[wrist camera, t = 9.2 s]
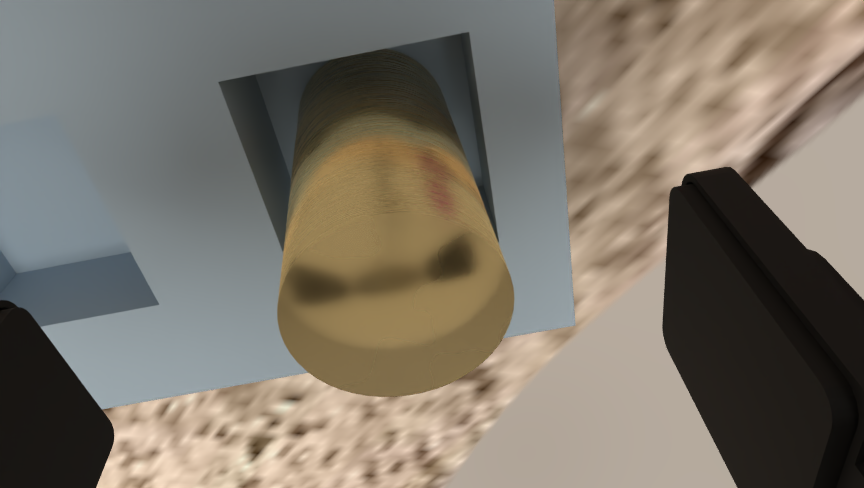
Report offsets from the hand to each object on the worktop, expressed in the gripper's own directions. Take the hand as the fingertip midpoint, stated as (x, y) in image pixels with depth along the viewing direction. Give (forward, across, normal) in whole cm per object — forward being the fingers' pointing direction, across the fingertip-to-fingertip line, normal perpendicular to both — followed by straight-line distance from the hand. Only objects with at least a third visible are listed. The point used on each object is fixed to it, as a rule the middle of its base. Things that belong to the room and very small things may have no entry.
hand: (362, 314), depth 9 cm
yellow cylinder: (+9, 0, +1) cm, 9 cm away
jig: (+10, +5, +1) cm, 11 cm away
